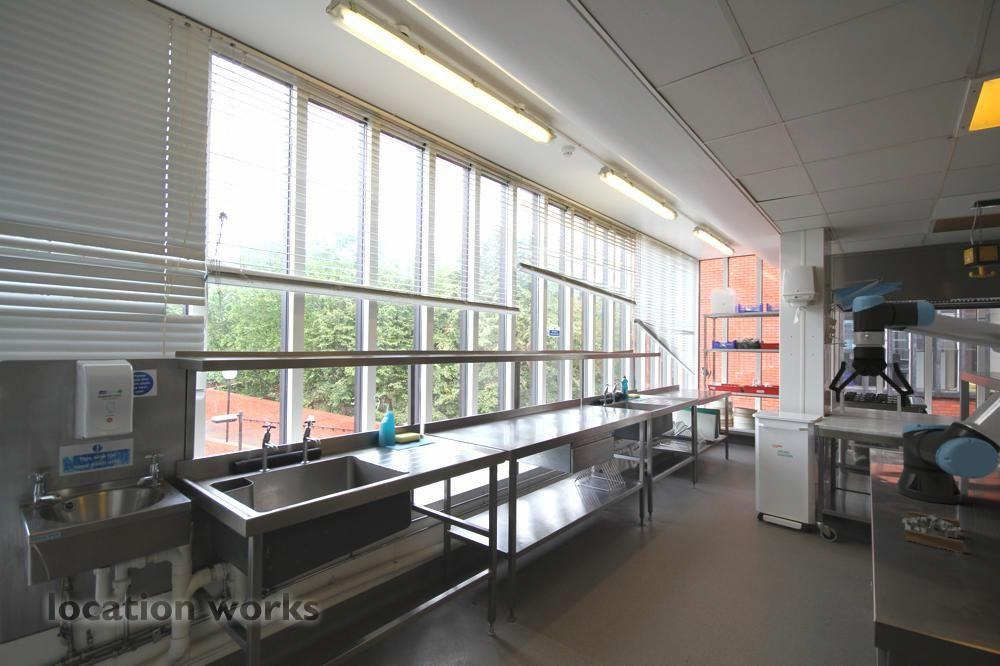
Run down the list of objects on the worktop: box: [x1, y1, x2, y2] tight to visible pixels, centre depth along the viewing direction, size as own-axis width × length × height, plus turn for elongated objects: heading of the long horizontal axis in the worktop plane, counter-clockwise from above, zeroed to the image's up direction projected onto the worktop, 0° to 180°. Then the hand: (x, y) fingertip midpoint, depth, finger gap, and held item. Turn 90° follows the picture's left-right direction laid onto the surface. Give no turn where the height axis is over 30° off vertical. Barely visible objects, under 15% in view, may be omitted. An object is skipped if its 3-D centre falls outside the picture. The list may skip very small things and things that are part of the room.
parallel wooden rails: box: [904, 510, 964, 554], centre depth 115 cm, size 19×10×2 cm, turn 137°
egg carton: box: [901, 514, 962, 538], centre depth 116 cm, size 11×8×4 cm
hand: (869, 415), depth 139 cm, fingers open, 13 cm apart
